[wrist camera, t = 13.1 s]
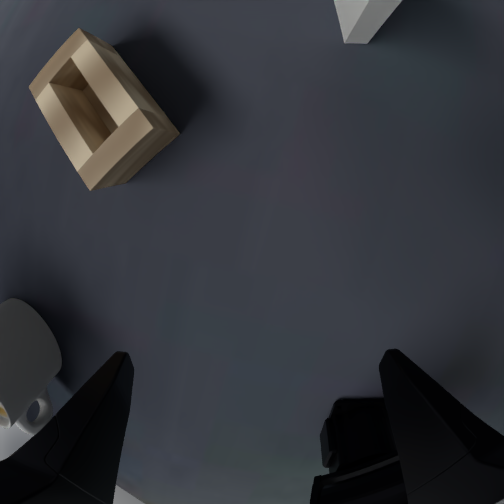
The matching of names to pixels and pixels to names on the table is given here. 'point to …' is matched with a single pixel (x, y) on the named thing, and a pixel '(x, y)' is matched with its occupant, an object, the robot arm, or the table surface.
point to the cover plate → (363, 18)
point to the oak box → (100, 111)
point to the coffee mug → (25, 365)
